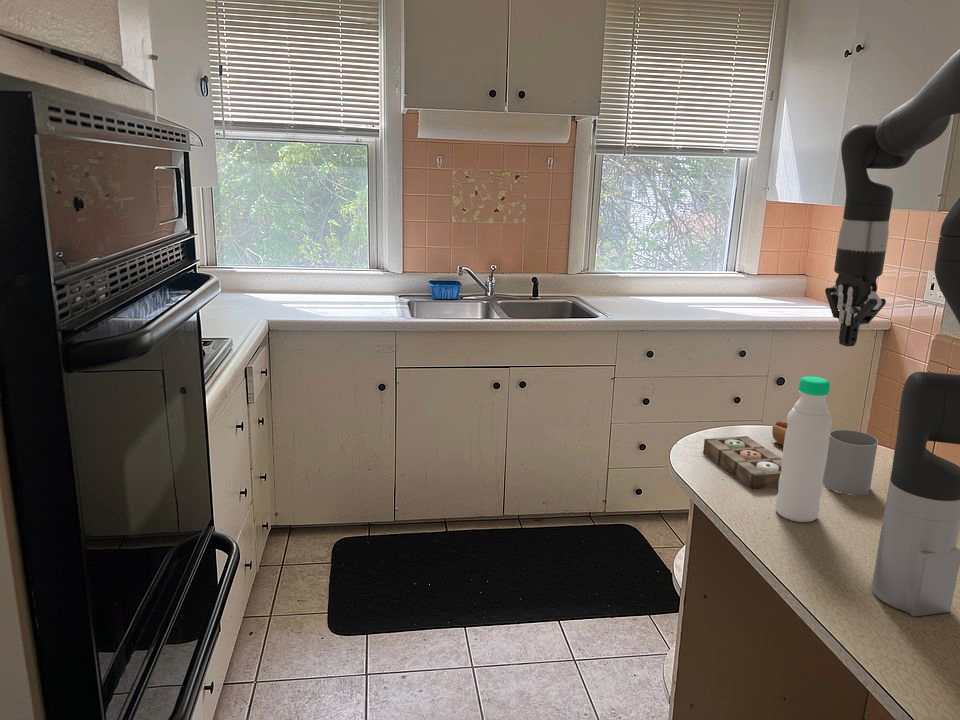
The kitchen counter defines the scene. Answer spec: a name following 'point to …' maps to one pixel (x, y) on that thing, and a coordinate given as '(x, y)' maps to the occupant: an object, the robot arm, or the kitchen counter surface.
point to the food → (779, 432)
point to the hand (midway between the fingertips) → (846, 345)
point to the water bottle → (805, 452)
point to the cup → (850, 462)
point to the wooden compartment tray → (744, 462)
